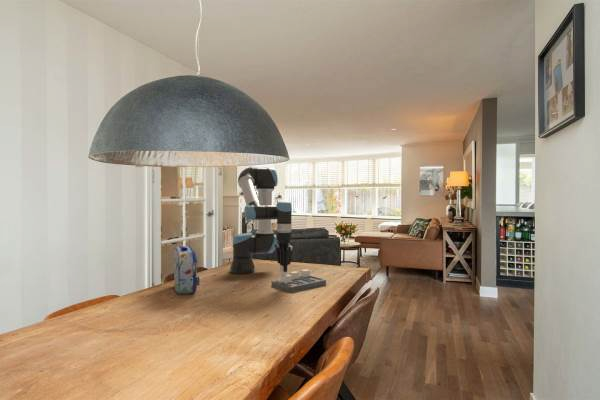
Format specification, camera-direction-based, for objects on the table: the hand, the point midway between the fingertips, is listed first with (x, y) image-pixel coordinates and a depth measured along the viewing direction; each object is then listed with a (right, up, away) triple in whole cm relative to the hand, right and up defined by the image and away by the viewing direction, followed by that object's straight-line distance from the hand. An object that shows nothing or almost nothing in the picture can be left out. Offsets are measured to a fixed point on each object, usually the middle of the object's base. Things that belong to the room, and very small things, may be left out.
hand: (283, 277), depth 179 cm
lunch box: (-48, -5, -7) cm, 49 cm away
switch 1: (+2, -2, -2) cm, 3 cm away
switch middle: (+5, -2, +6) cm, 8 cm away
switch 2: (+11, -2, +12) cm, 16 cm away
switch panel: (+8, -5, +3) cm, 10 cm away
